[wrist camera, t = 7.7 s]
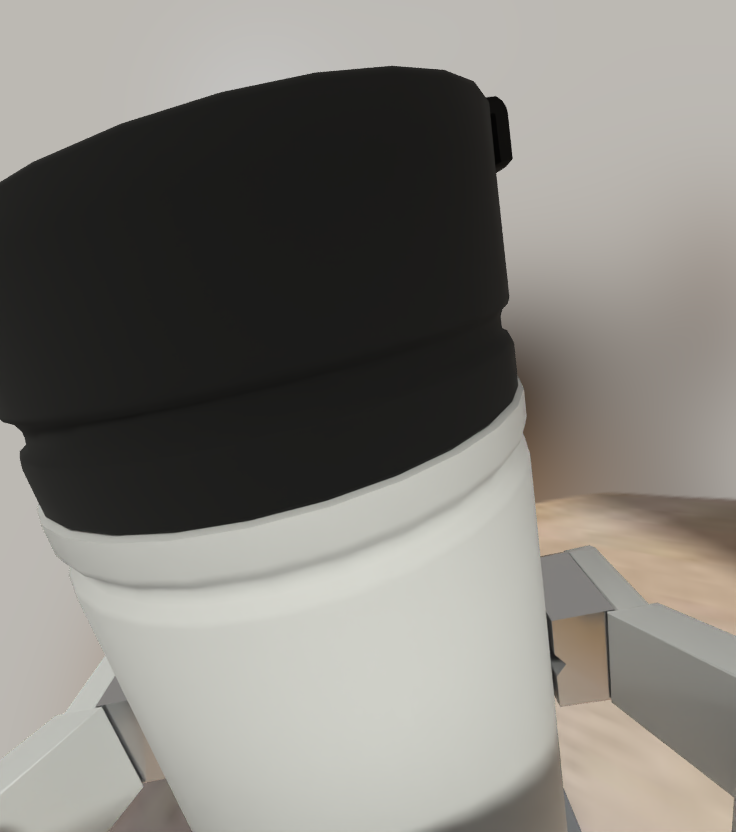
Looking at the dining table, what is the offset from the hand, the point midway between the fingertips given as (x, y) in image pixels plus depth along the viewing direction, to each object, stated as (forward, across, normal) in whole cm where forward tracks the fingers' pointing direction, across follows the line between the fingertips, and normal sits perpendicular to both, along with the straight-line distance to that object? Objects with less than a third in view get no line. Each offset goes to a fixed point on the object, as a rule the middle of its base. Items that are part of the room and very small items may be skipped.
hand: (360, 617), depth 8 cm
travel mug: (-1, 0, +12) cm, 12 cm away
